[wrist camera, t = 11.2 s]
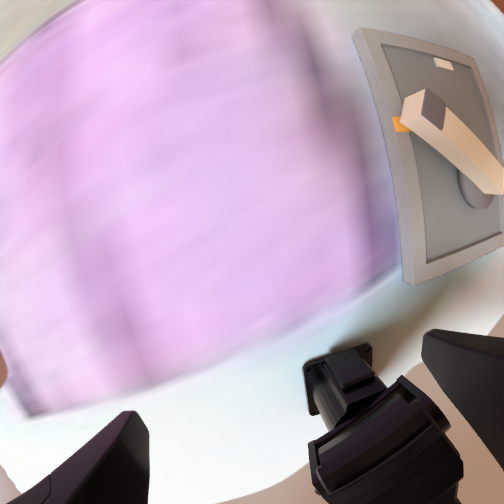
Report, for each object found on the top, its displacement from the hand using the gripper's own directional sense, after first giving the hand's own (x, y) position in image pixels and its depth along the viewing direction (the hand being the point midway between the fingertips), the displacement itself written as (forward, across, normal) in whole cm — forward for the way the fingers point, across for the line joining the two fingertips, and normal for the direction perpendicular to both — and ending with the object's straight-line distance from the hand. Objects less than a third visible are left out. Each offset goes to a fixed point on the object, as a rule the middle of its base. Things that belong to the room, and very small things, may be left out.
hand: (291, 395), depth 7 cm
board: (+13, -22, -7) cm, 26 cm away
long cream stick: (+12, -20, -6) cm, 24 cm away
